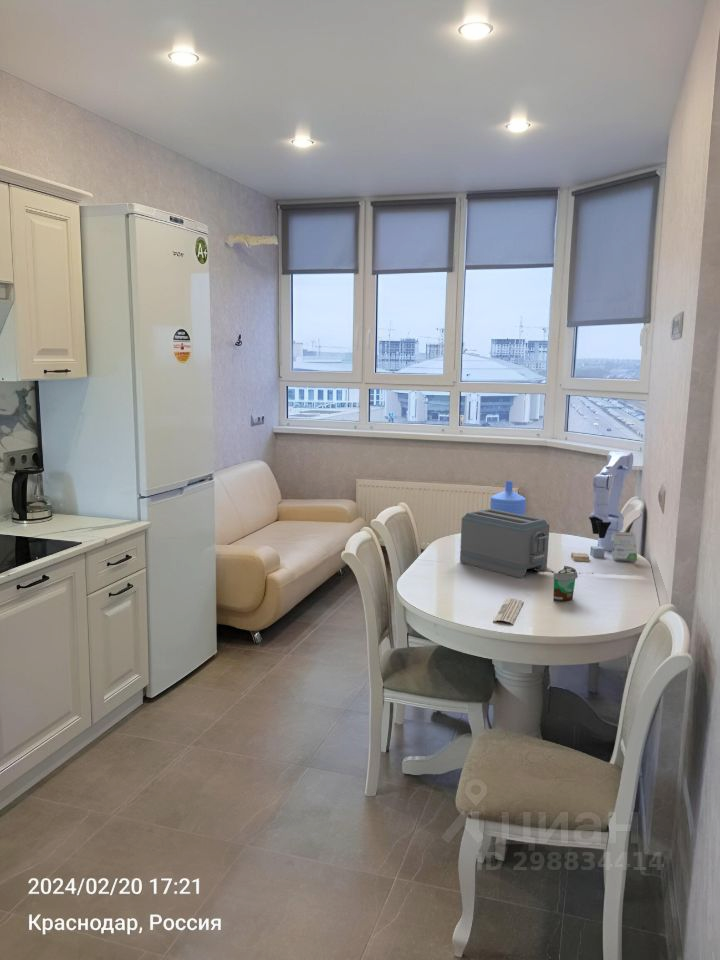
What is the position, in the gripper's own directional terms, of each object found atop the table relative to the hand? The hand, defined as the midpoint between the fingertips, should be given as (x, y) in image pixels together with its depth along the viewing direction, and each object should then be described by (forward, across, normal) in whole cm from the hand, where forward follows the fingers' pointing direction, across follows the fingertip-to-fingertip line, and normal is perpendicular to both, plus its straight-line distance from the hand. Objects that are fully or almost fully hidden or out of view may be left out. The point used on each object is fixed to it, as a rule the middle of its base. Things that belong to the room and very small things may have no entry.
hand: (598, 535), depth 301 cm
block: (+10, 0, 0) cm, 10 cm away
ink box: (+9, +8, +9) cm, 15 cm away
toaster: (+10, +16, -41) cm, 45 cm away
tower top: (+8, +6, -9) cm, 14 cm away
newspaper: (+11, +70, -51) cm, 87 cm away
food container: (+10, +55, -28) cm, 63 cm away
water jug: (+10, -25, -33) cm, 43 cm away
